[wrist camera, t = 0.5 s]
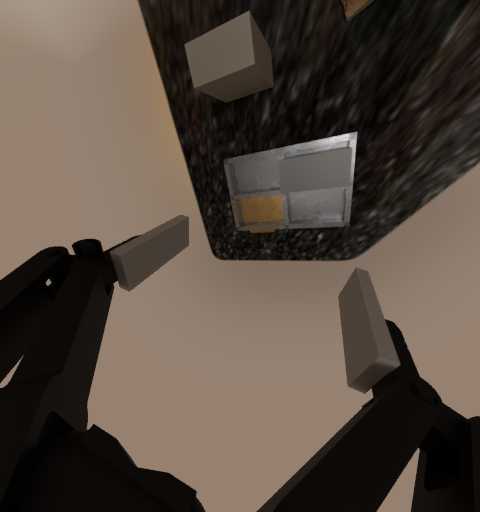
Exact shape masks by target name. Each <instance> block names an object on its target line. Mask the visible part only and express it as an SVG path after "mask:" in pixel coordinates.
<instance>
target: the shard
mask: <svg viewBox="0 0 480 512" xmlns="http://www.w3.org/2000/svg"><path fill="white" fill-rule="evenodd" d="M373 1H374V0H341V2H342V4H343V6H344V11H345V15H346V20H347V21H350V20H351V19H352V18H353V17H354V16H355V15H357V14H358V13H359V12H361V11H362V10H363V9H364V8H366V7H367V6H368V5H369V4H370V3H371V2H373Z"/></svg>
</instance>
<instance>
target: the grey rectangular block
mask: <svg viewBox="0 0 480 512" xmlns="http://www.w3.org/2000/svg"><path fill="white" fill-rule="evenodd" d="M352 149H353V147H340V148H334V149H329V150H324V151H318V152H313V153H307V154H302V155H297V156H291V157H288V158H285V159H282V160H280V161H279V174H280V187H281V194H285V193H294V192H302V191H311V190H320V189H329V188H338V187H346V186H350V175H351V162H352Z"/></svg>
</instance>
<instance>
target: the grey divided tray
mask: <svg viewBox="0 0 480 512" xmlns="http://www.w3.org/2000/svg"><path fill="white" fill-rule="evenodd" d="M356 140H357V132H354V133H349V134H344V135H339V136H334V137H330V138H325V139H320V140H315V141H310V142H306V143H301V144H296V145H291V146H286V147H282V148H277V149H272V150H267V151H262V152H258V153H253V154H248V155H243V156H238V157H234V158H229V159H224V160H223V162H224V167H225V172H226V177H227V183H228V188H229V193H230V198H231V203H232V209H233V214H234V219H235V224H236V229H237V231H246V230H250V233H258V232H275V230H276V229H294V228H318V227H342V226H349V223H350V212H351V200H352V188H353V176H354V164H355V152H356ZM340 147H353V149H352V162H351V175H350V186H346V187H338V188H329V189H320V190H311V191H302V192H294V193H285V194H281V187H280V174H279V161H280V160H282V159H285V158H288V157H291V156H297V155H302V154H307V153H313V152H318V151H324V150H329V149H334V148H340Z"/></svg>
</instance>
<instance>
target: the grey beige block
mask: <svg viewBox="0 0 480 512" xmlns="http://www.w3.org/2000/svg"><path fill="white" fill-rule="evenodd" d="M184 45H185V49H186V54H187V58H188V63H189V67H190V72H191V76H192V81H193V86H194V88H195V89H197V90H199V91H201V92H204V93H206V94H208V95H210V96H213V97H215V98H217V99H219V100H222V101H224V102H226V103H227V102H230V101H233V100H236V99H239V98H242V97H245V96H248V95H251V94H254V93H257V92H260V91H262V90H265V89H268V88H271V87H274V84H273V71H272V57H271V50H270V48H269V46H268V44H267V43H266V41H265V39H264V37H263V35H262V33H261V32H260V30H259V28H258V26H257V24H256V22H255V21H254V19H253V17H252V15H251V13H250V11H248V12H246V13H244V14H242V15H240V16H238V17H236V18H234V19H232V20H230V21H229V22H227V23H225V24H223V25H221V26H219V27H217V28H215V29H213V30H211V31H209V32H207V33H206V34H204V35H202V36H200V37H198V38H196V39H194V40H192V41H190V42H188V43H186V44H184Z"/></svg>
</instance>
